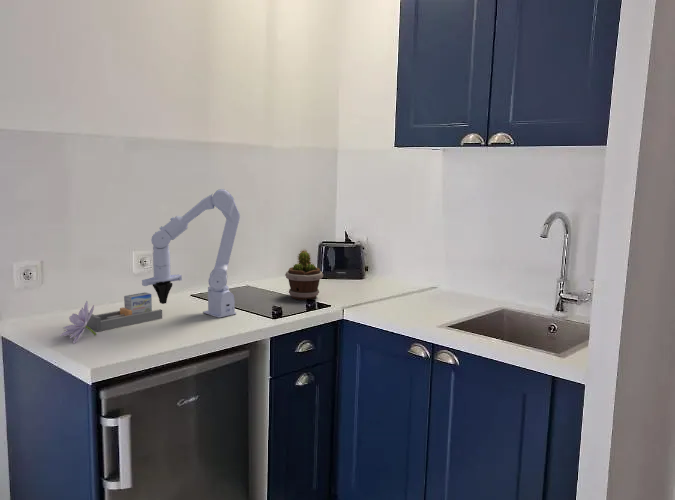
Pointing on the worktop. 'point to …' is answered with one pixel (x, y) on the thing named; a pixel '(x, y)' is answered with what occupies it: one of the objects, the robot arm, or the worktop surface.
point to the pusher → (122, 313)
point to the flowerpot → (304, 278)
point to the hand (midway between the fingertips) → (163, 303)
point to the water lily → (79, 323)
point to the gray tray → (120, 319)
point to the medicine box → (138, 303)
